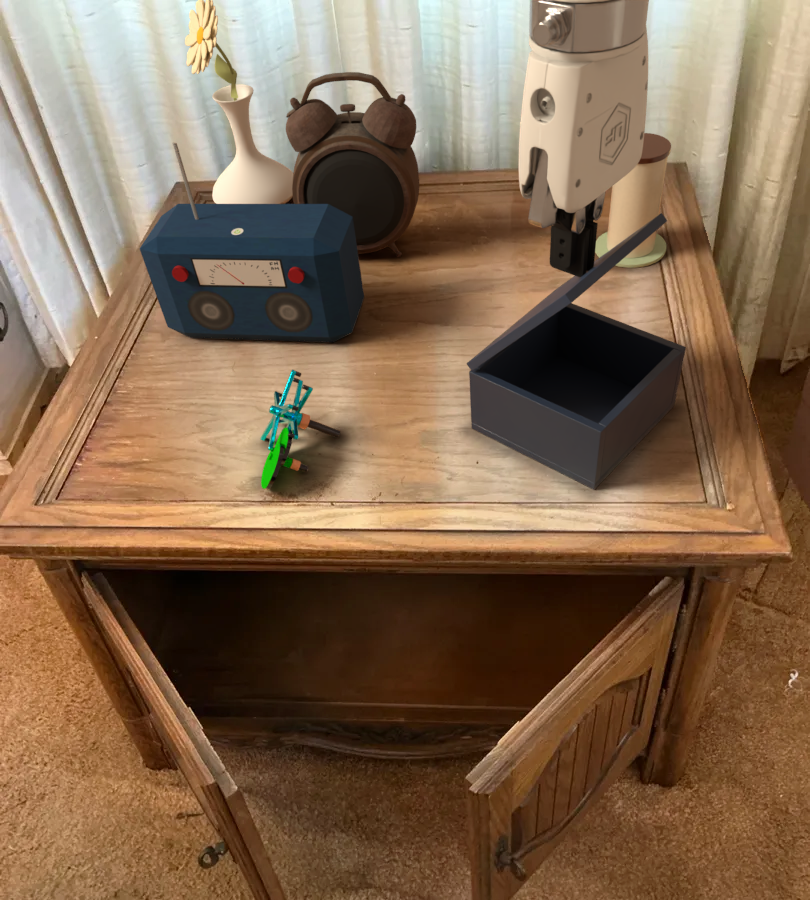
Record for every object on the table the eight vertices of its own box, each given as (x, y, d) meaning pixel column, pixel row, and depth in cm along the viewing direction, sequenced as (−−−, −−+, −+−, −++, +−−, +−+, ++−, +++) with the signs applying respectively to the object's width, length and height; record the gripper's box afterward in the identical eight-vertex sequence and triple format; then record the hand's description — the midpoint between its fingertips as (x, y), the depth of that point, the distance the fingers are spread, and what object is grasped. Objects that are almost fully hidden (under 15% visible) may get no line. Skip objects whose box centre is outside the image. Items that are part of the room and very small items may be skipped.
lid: (667, 220, 68) (661, 212, 68) (571, 302, 62) (565, 294, 62) (559, 296, 81) (555, 289, 81) (471, 371, 75) (465, 363, 75)
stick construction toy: (264, 390, 83) (293, 352, 76) (329, 414, 86) (362, 380, 79) (239, 499, 78) (268, 468, 72) (309, 522, 81) (342, 494, 75)
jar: (656, 232, 99) (670, 132, 90) (656, 259, 95) (672, 158, 86) (605, 231, 100) (614, 132, 91) (603, 258, 96) (613, 158, 87)
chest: (674, 405, 80) (686, 346, 75) (594, 490, 74) (601, 432, 69) (554, 355, 86) (557, 297, 81) (471, 428, 80) (468, 371, 75)
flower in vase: (217, 186, 116) (161, -23, 98) (299, 175, 116) (259, -36, 98) (213, 235, 108) (150, 17, 89) (301, 223, 108) (258, 2, 89)
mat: (665, 230, 99) (665, 227, 99) (666, 268, 94) (667, 265, 94) (595, 229, 101) (596, 226, 100) (593, 267, 96) (593, 264, 95)
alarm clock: (302, 271, 101) (266, 95, 86) (310, 238, 105) (277, 66, 90) (424, 265, 99) (409, 85, 84) (427, 232, 104) (413, 56, 89)
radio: (167, 345, 93) (101, 167, 78) (192, 298, 99) (136, 124, 84) (351, 351, 90) (320, 166, 75) (367, 302, 95) (341, 121, 80)
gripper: (570, 68, 50) (556, 329, 64) (698, -13, 56) (660, 239, 70) (470, 46, 53) (478, 297, 67) (601, -29, 60) (583, 214, 74)
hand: (571, 267), depth 69 cm, fingers closed
